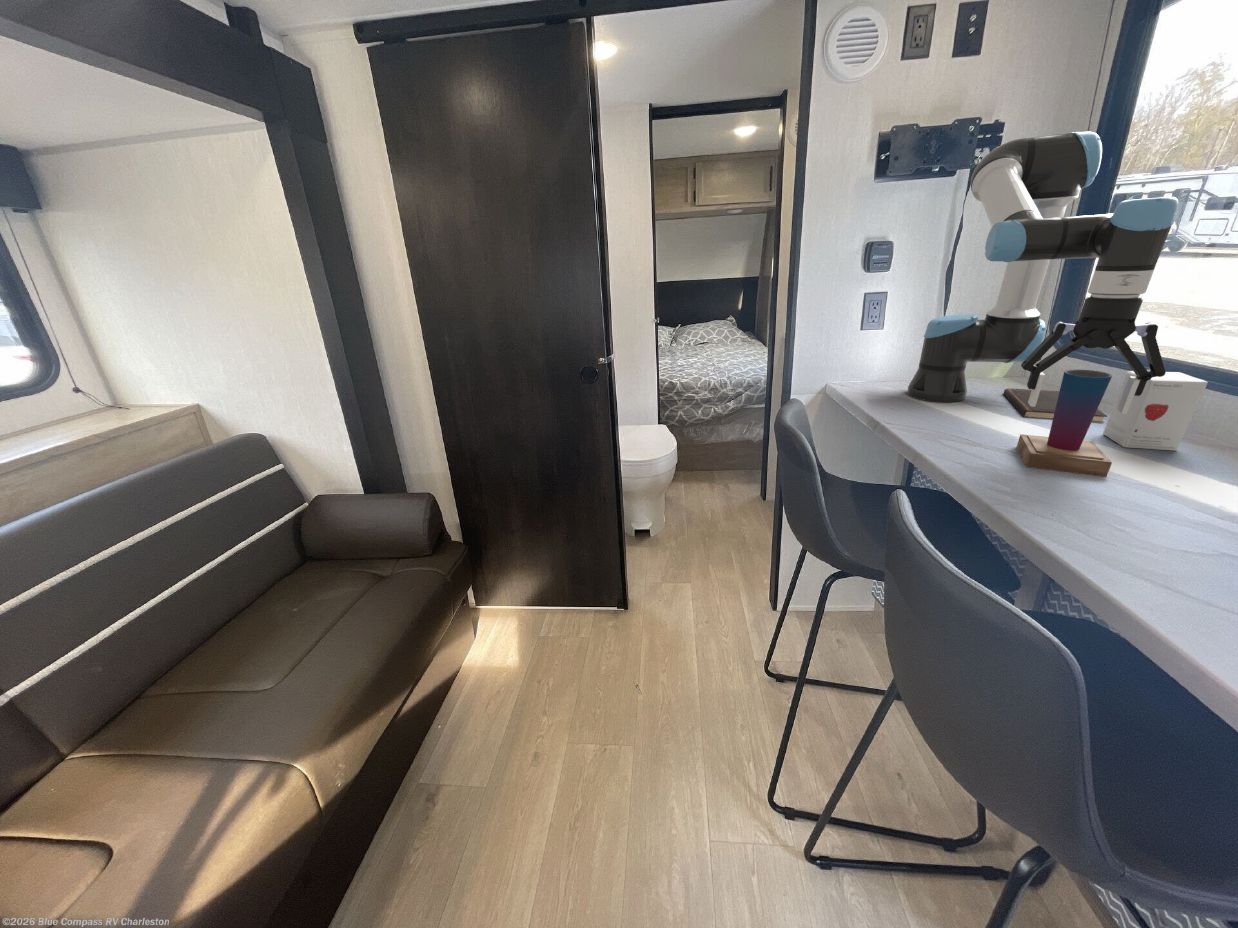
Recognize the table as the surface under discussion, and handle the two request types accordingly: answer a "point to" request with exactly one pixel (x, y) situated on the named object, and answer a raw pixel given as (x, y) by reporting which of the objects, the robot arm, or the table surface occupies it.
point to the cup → (1076, 407)
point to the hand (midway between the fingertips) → (1074, 408)
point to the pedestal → (1063, 456)
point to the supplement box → (1156, 412)
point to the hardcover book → (1039, 403)
